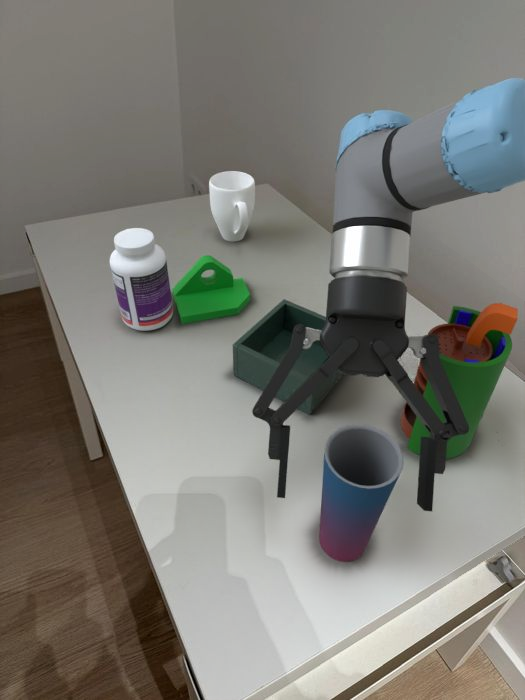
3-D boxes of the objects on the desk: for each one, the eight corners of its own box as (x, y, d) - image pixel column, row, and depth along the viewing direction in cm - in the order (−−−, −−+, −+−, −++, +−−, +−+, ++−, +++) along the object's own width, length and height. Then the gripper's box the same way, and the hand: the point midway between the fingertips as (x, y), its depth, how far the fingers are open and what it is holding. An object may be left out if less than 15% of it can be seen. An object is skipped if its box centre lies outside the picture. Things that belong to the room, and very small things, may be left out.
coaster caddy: (400, 393, 71) (436, 270, 57) (467, 404, 69) (520, 281, 56) (399, 453, 63) (440, 328, 50) (475, 466, 62) (538, 342, 48)
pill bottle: (181, 306, 84) (172, 227, 74) (162, 337, 78) (150, 256, 68) (134, 298, 85) (119, 220, 75) (113, 329, 79) (94, 248, 70)
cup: (363, 505, 58) (387, 419, 48) (383, 564, 53) (415, 482, 43) (304, 514, 57) (316, 428, 47) (319, 575, 52) (336, 493, 42)
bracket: (181, 324, 81) (177, 288, 76) (173, 295, 86) (168, 260, 81) (254, 311, 83) (255, 276, 79) (242, 284, 89) (242, 250, 84)
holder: (354, 361, 75) (360, 331, 71) (309, 415, 67) (313, 384, 63) (282, 328, 80) (283, 298, 76) (233, 375, 73) (232, 344, 69)
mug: (207, 228, 103) (204, 173, 95) (247, 223, 105) (247, 168, 97) (222, 260, 94) (220, 202, 87) (265, 253, 96) (267, 196, 89)
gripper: (483, 295, 53) (471, 502, 52) (243, 278, 54) (227, 481, 54) (515, 282, 46) (501, 524, 45) (236, 263, 47) (217, 498, 46)
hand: (352, 501), depth 49 cm, fingers open, 13 cm apart
